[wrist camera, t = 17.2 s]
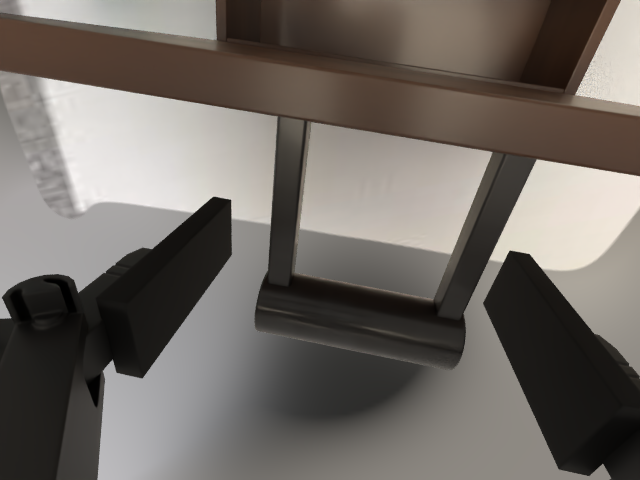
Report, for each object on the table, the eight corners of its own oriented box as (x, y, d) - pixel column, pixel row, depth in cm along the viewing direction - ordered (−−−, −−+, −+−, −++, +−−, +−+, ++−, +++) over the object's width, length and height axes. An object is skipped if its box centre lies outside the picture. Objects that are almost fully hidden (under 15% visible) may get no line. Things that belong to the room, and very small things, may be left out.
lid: (-160, -8, 5) (10, 334, 9) (1195, 202, 4) (727, 489, 8) (212, 39, 17) (216, 178, 21) (580, 95, 16) (513, 231, 20)
